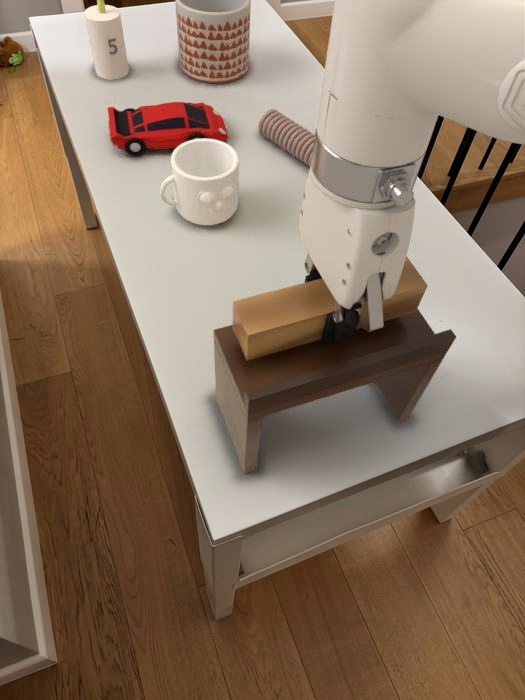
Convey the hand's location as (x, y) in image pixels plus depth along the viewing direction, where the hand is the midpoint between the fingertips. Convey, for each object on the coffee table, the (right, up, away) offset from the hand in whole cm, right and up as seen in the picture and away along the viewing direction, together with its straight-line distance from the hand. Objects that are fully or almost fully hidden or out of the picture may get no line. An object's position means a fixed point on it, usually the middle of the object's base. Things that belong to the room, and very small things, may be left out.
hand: (327, 317), depth 52 cm
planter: (-16, +54, +56) cm, 79 cm away
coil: (0, +30, +40) cm, 50 cm away
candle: (-36, +51, +53) cm, 82 cm away
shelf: (0, -10, +12) cm, 16 cm away
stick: (0, 0, 0) cm, 0 cm away
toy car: (-23, +34, +42) cm, 58 cm away
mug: (-16, +18, +31) cm, 39 cm away
